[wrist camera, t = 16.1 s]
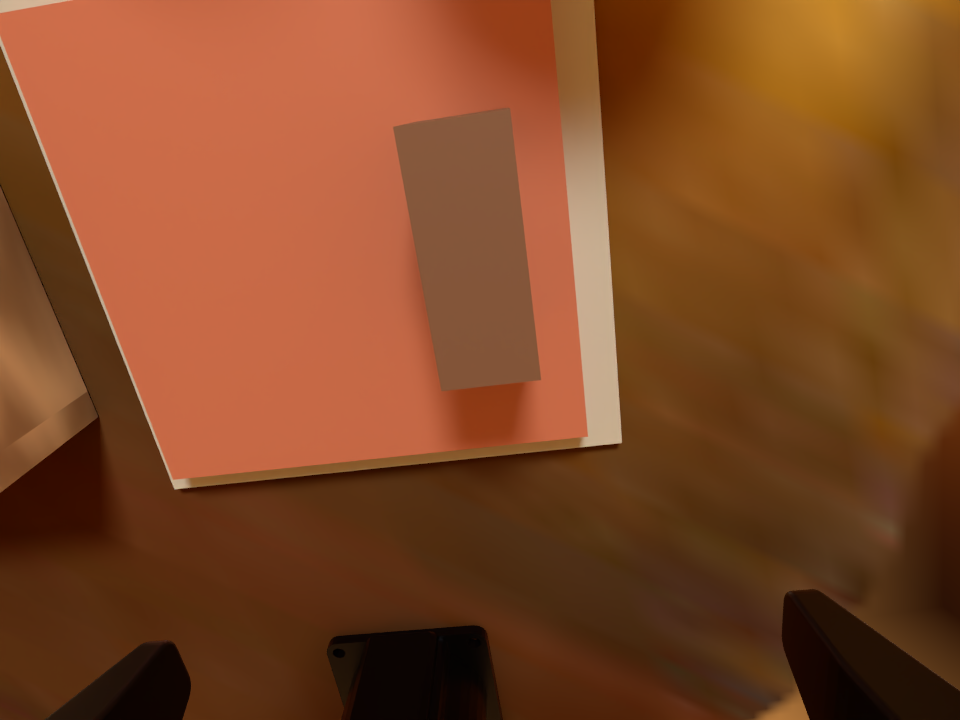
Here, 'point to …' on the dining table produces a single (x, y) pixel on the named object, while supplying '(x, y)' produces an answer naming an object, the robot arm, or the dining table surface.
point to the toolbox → (32, 365)
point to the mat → (587, 239)
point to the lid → (318, 219)
